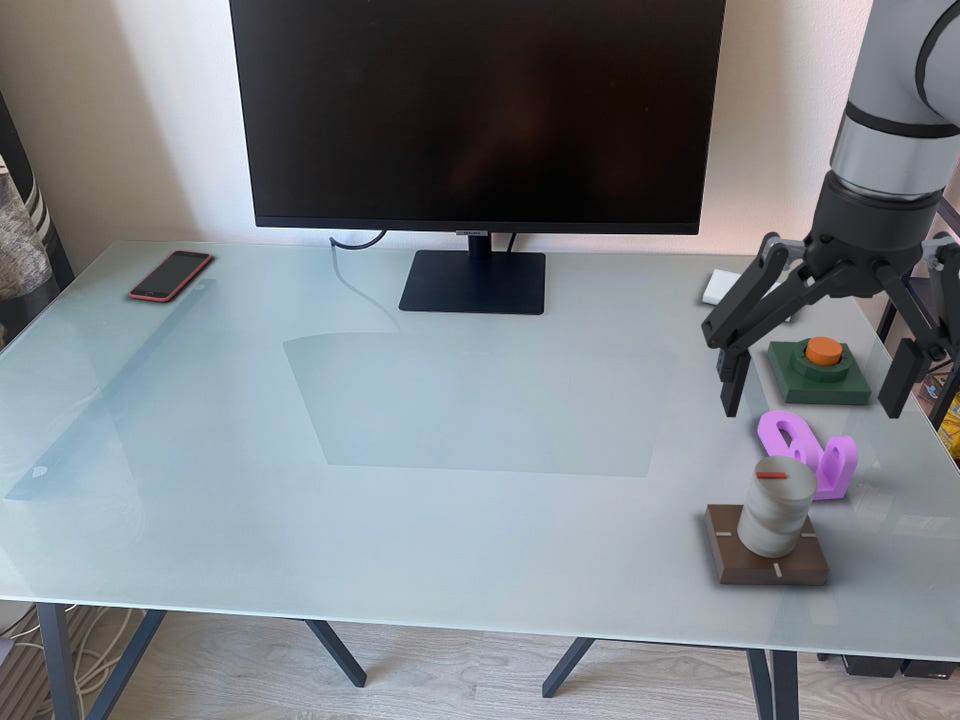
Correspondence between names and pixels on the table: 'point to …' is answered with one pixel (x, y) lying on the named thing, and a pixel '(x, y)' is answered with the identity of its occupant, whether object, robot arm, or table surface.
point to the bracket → (811, 452)
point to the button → (823, 351)
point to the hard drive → (724, 286)
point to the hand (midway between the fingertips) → (807, 407)
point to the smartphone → (170, 276)
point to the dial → (776, 505)
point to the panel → (755, 569)
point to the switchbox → (817, 376)
